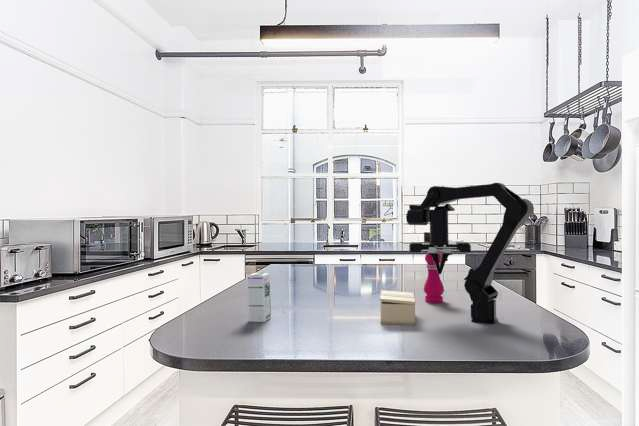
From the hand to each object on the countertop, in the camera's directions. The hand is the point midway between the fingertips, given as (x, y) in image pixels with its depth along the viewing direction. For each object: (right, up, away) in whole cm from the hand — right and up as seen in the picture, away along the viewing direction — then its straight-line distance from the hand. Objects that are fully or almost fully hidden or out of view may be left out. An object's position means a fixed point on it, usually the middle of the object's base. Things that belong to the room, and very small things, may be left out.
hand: (439, 274), depth 148 cm
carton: (-14, -13, -5) cm, 20 cm away
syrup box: (-57, -14, -3) cm, 59 cm away
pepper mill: (+3, -13, +21) cm, 25 cm away
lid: (-14, -7, -5) cm, 17 cm away
